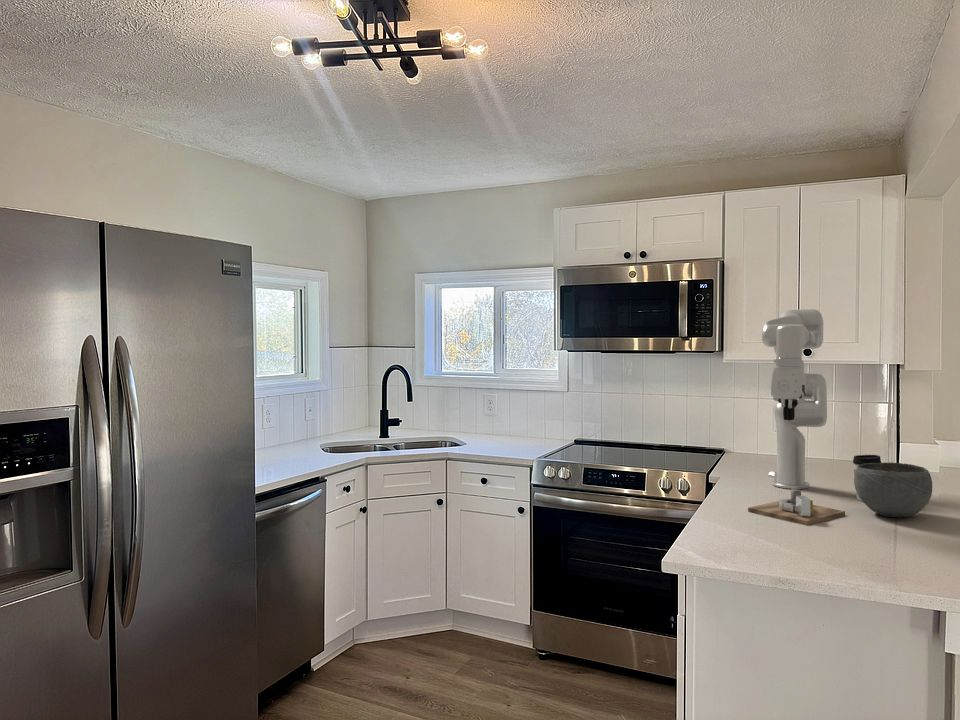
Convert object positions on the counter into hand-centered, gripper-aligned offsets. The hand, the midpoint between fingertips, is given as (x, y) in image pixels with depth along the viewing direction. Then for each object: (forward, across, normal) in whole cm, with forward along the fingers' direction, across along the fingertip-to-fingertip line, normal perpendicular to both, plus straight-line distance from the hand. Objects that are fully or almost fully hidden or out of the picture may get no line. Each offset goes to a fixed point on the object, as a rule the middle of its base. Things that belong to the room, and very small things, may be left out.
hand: (788, 419), depth 229 cm
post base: (+28, +7, -7) cm, 30 cm away
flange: (+26, +9, -9) cm, 29 cm away
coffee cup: (+29, +10, +28) cm, 41 cm away
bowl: (+28, +25, +15) cm, 41 cm away
